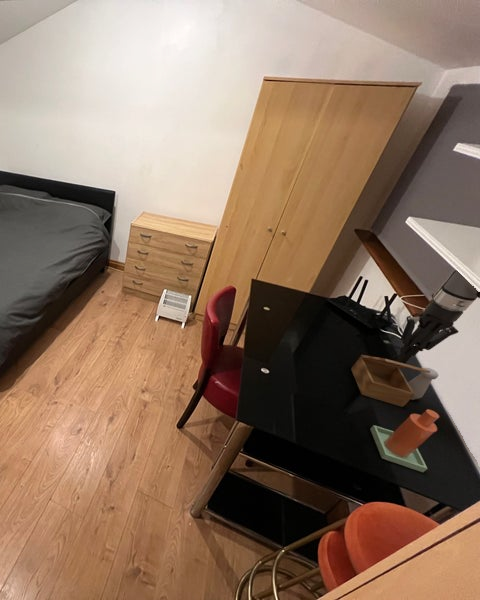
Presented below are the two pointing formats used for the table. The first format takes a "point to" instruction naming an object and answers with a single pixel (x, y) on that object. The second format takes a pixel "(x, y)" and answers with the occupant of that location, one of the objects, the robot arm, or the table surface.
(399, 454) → the bottle
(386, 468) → the table surface
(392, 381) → the chest
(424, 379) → the salt shaker
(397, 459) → the tray
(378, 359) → the lid
